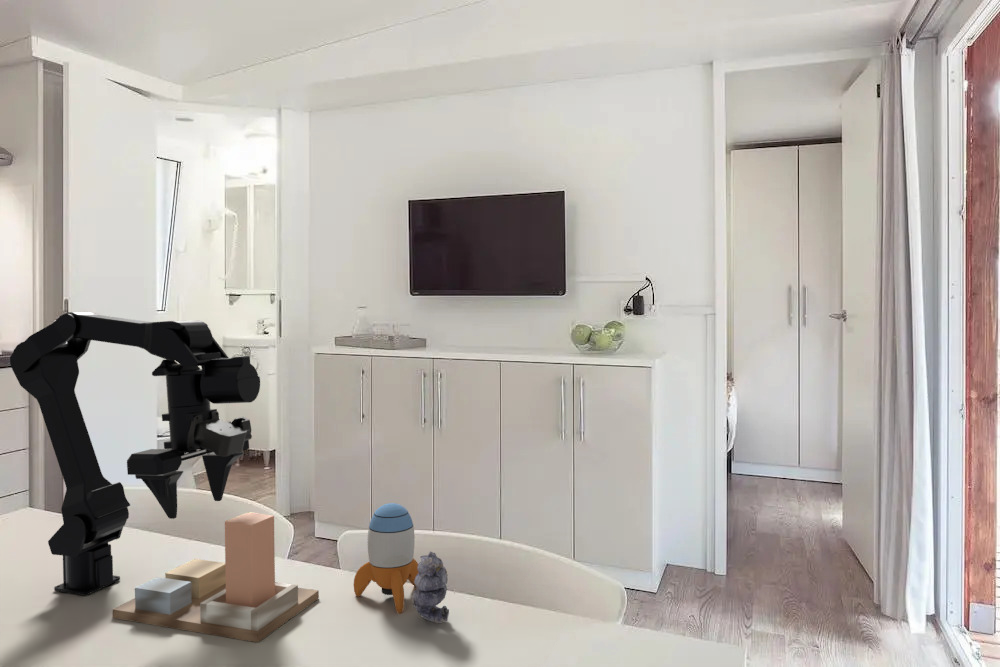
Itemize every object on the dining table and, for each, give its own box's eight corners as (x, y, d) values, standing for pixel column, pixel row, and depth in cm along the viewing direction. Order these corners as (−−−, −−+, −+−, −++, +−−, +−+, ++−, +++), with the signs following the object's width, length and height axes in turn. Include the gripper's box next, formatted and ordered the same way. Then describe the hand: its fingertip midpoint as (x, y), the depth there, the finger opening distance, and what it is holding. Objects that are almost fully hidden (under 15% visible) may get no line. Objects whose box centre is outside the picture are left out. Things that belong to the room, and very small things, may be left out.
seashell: (455, 617, 94) (455, 546, 94) (440, 635, 89) (439, 560, 89) (421, 612, 96) (420, 542, 96) (403, 629, 91) (402, 555, 90)
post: (226, 615, 92) (224, 521, 92) (249, 602, 96) (248, 512, 96) (252, 621, 90) (250, 525, 90) (275, 607, 95) (274, 515, 94)
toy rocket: (416, 621, 95) (392, 522, 93) (346, 627, 97) (321, 530, 95) (435, 582, 105) (414, 491, 103) (371, 588, 107) (350, 500, 105)
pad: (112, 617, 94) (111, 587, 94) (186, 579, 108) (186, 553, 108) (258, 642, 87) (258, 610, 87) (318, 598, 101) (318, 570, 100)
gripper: (185, 413, 89) (194, 531, 90) (274, 395, 107) (280, 494, 107) (120, 414, 93) (128, 527, 93) (216, 397, 110) (222, 492, 111)
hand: (196, 509), depth 101 cm, fingers open, 9 cm apart
